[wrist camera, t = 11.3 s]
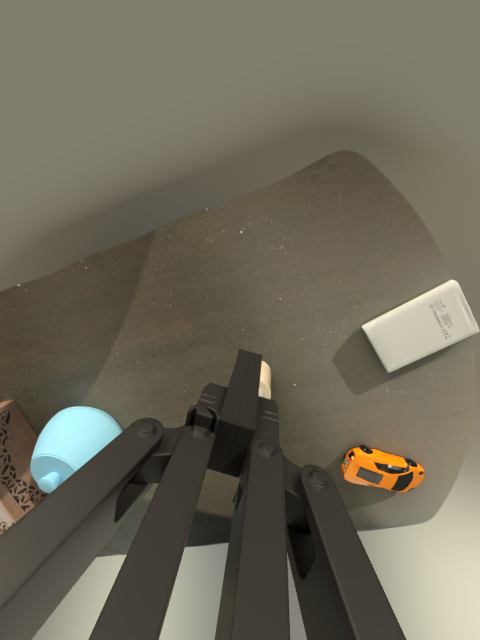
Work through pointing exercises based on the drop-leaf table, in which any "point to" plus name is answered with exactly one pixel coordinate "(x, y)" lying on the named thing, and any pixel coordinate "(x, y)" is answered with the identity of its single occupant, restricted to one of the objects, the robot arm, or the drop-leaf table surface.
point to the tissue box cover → (16, 466)
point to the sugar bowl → (70, 444)
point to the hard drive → (421, 326)
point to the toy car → (381, 470)
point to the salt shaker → (265, 381)
